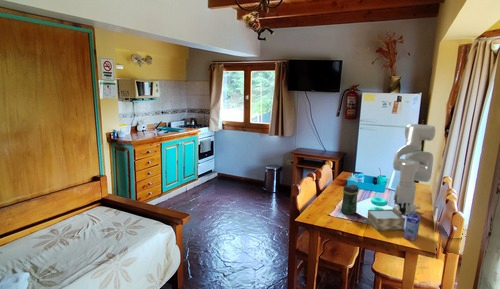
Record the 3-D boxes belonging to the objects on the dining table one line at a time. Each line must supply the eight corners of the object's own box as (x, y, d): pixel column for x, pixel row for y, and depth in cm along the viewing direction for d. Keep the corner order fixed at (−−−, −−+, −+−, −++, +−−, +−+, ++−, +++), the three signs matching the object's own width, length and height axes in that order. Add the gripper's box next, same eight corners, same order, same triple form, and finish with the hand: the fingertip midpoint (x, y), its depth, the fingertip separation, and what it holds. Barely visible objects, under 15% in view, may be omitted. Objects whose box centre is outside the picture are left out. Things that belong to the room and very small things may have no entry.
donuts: (390, 202, 185) (374, 202, 185) (389, 217, 187) (373, 217, 187) (383, 196, 195) (368, 196, 195) (382, 210, 197) (366, 210, 197)
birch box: (392, 220, 183) (393, 209, 181) (403, 230, 171) (405, 218, 169) (367, 221, 181) (368, 209, 180) (376, 230, 169) (378, 218, 168)
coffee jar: (349, 216, 187) (352, 188, 184) (339, 211, 194) (341, 184, 190) (358, 212, 193) (361, 185, 189) (348, 208, 199) (350, 182, 195)
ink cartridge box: (414, 241, 159) (418, 216, 156) (403, 238, 162) (406, 213, 159) (418, 234, 166) (422, 210, 163) (407, 231, 169) (410, 207, 167)
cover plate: (394, 212, 181) (394, 206, 180) (404, 219, 170) (404, 214, 170) (368, 212, 179) (369, 207, 178) (377, 220, 169) (377, 214, 168)
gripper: (414, 181, 176) (410, 210, 179) (390, 181, 174) (386, 211, 178) (422, 185, 169) (418, 216, 172) (397, 186, 167) (393, 216, 171)
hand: (402, 213), depth 175 cm, fingers closed
